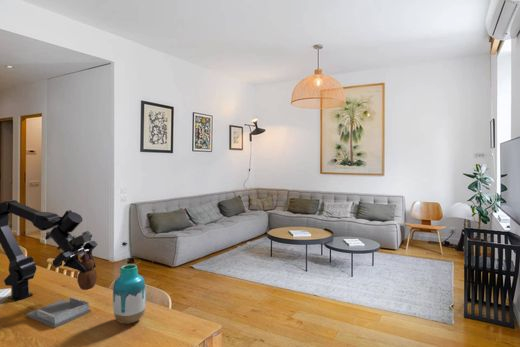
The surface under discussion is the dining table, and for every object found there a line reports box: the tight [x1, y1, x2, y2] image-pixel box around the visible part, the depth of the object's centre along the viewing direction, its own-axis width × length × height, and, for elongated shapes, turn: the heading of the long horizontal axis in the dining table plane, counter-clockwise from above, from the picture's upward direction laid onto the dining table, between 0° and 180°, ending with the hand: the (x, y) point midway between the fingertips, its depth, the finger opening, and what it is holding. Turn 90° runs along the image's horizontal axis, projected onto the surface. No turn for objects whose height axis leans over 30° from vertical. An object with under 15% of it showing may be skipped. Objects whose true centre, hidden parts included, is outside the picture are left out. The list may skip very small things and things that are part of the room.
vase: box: [112, 263, 147, 324], centre depth 115 cm, size 11×11×19 cm
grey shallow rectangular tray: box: [26, 296, 92, 329], centre depth 120 cm, size 17×13×4 cm
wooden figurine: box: [76, 252, 98, 291], centre depth 128 cm, size 7×6×15 cm
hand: (90, 269), depth 128 cm, fingers closed on wooden figurine, 5 cm apart
